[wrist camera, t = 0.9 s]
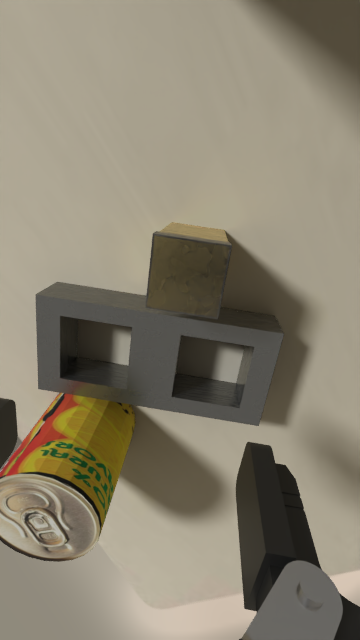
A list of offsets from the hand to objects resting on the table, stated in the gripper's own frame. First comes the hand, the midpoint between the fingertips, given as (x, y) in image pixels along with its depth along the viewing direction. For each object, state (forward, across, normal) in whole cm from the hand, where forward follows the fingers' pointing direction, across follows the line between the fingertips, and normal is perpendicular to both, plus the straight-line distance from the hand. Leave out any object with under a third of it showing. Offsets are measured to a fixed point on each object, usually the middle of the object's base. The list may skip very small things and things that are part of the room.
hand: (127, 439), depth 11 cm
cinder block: (+19, +1, +6) cm, 20 cm away
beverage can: (+19, +7, +16) cm, 26 cm away
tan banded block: (+20, -1, -3) cm, 20 cm away
